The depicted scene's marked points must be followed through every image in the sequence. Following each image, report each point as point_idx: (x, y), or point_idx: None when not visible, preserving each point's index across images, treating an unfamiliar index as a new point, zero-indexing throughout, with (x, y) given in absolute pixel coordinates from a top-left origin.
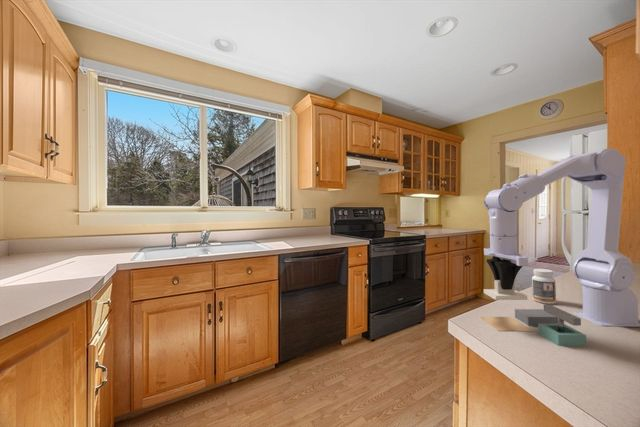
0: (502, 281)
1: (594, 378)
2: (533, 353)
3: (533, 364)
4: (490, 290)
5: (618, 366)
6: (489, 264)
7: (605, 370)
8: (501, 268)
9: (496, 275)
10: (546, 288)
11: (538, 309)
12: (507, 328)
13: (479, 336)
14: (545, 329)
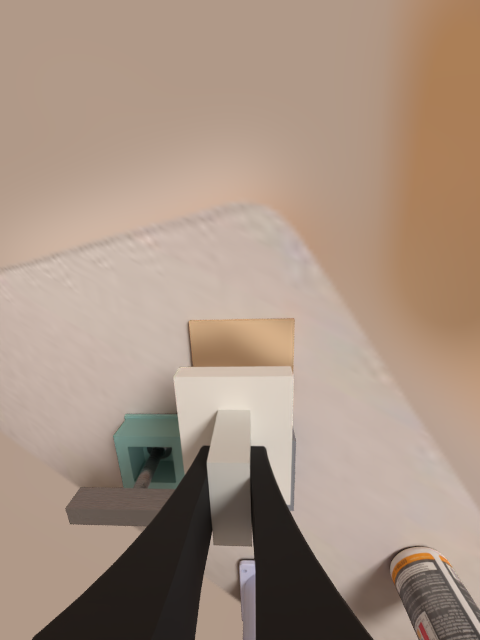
0: (181, 483)
1: (8, 391)
2: (81, 341)
3: (28, 309)
4: (269, 399)
5: (67, 461)
6: (324, 613)
7: (45, 430)
8: (66, 608)
9: (254, 511)
10: (423, 625)
11: (292, 500)
12: (205, 355)
13: (154, 247)
14: (157, 432)
